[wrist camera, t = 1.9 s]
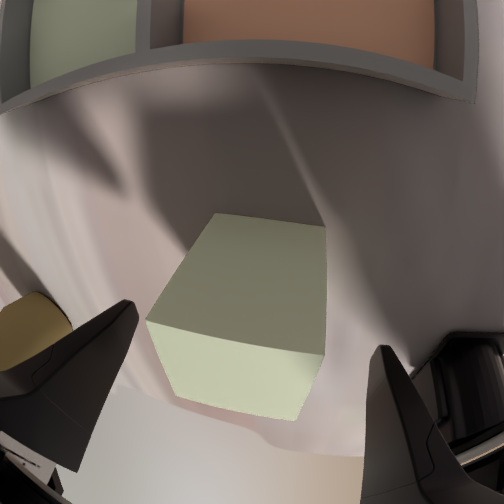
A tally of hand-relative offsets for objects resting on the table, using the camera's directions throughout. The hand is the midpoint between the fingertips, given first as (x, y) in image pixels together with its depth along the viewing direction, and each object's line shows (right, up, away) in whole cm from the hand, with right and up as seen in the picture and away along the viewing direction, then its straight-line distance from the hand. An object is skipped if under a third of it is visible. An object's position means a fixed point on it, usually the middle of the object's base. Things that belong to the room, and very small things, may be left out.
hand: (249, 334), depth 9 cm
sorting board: (-2, +13, -4) cm, 14 cm away
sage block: (+1, +2, +3) cm, 4 cm away
